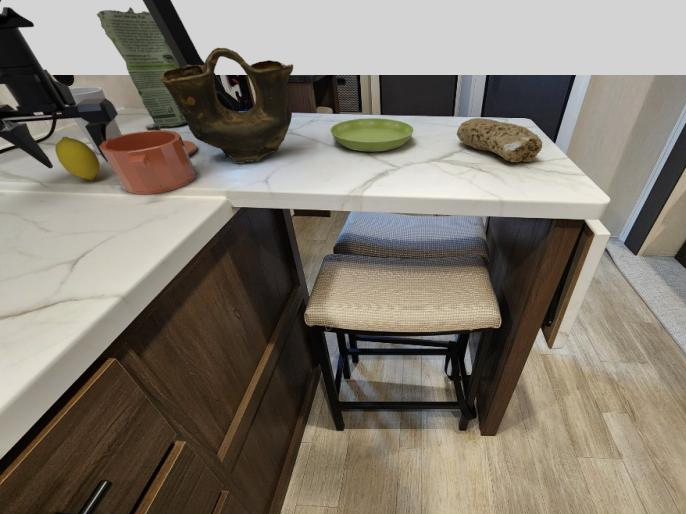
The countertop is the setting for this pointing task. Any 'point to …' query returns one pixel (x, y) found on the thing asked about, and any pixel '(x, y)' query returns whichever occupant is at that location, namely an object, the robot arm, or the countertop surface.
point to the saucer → (372, 134)
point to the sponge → (500, 139)
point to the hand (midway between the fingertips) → (80, 164)
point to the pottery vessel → (226, 125)
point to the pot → (149, 161)
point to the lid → (188, 145)
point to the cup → (111, 129)
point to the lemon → (77, 158)
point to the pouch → (145, 60)
